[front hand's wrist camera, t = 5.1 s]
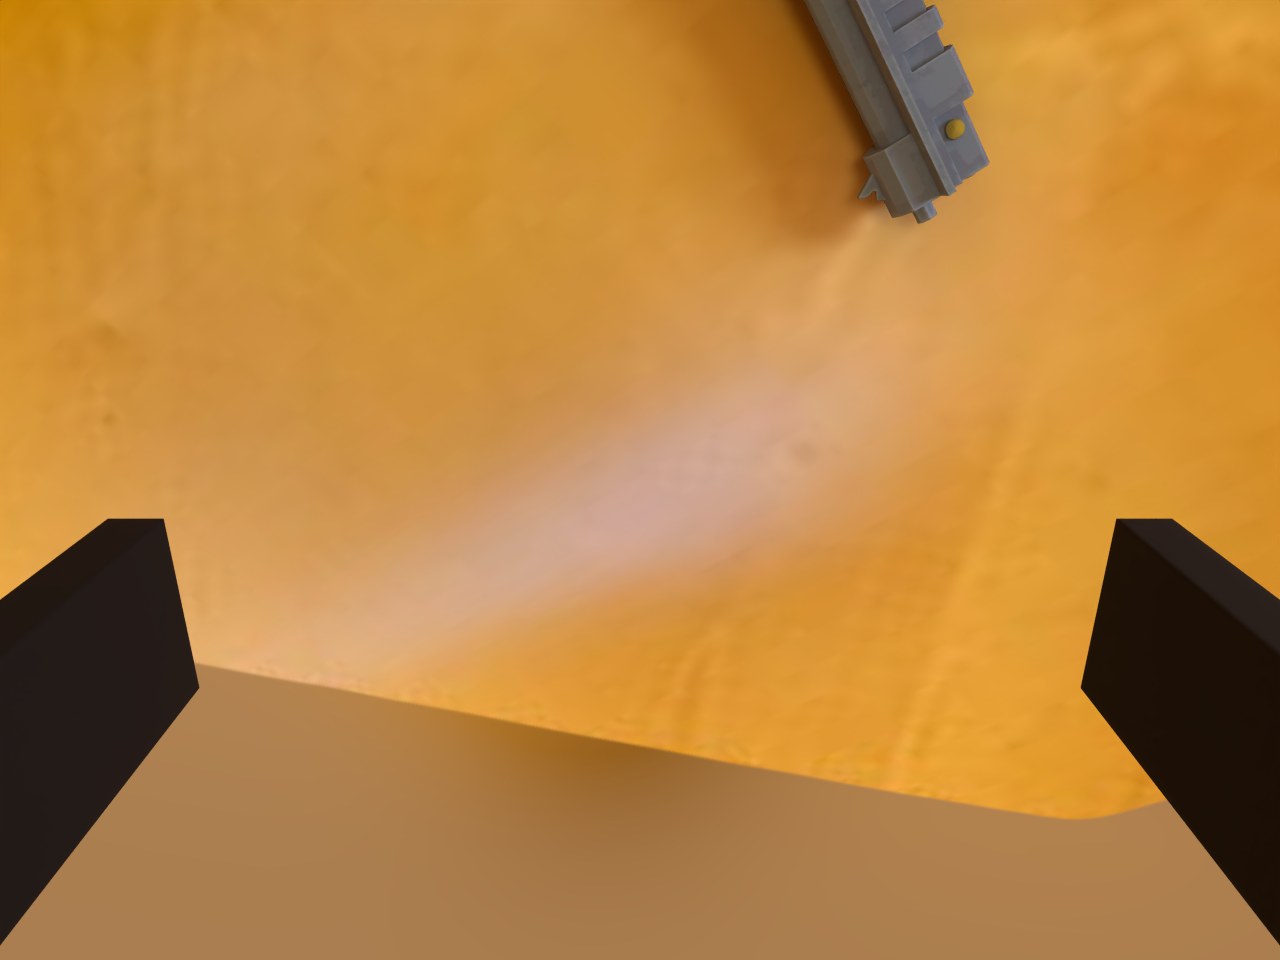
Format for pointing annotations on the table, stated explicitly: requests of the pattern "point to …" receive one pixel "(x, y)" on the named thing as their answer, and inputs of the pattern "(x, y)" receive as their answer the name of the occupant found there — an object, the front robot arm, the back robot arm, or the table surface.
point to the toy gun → (903, 99)
